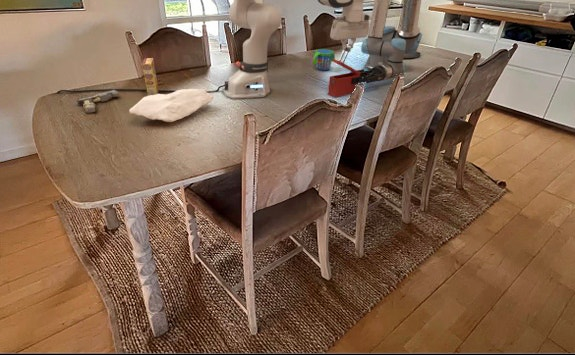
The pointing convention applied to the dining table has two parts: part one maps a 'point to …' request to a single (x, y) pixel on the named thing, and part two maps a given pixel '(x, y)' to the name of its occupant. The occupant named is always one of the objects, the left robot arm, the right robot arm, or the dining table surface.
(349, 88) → the chest
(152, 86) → the candy box
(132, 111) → the crumpled cloth
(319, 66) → the snack cup
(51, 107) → the dining table surface
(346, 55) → the lid
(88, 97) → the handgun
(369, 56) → the right robot arm
